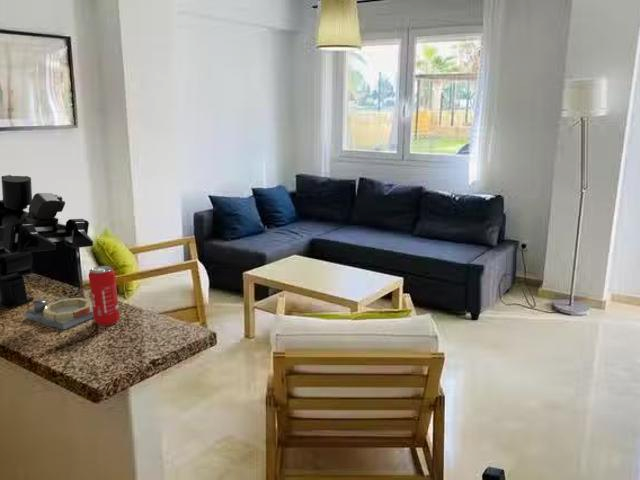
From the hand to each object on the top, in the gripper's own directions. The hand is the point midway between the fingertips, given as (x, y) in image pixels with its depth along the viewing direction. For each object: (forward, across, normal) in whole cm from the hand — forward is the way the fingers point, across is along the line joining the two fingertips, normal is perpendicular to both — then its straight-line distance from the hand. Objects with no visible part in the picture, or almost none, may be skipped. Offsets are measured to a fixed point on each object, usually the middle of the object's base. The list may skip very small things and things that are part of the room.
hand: (74, 245), depth 119 cm
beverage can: (+7, +6, +16) cm, 18 cm away
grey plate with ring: (-4, +4, +18) cm, 19 cm away
